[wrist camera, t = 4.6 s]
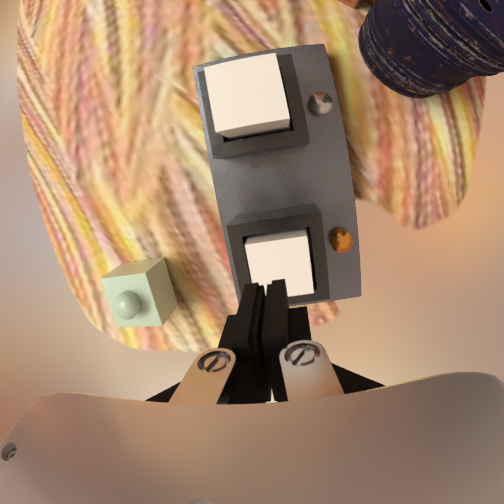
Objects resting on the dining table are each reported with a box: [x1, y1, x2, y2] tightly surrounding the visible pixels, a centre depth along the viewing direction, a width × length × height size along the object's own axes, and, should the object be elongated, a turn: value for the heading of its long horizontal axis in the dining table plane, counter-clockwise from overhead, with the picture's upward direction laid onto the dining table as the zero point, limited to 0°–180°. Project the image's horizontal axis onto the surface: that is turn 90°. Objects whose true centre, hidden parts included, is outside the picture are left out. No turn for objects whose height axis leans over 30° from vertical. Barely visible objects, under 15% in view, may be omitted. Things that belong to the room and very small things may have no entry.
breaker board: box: [193, 44, 361, 306], centre depth 21 cm, size 22×11×6 cm, turn 10°
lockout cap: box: [101, 257, 178, 327], centre depth 26 cm, size 5×5×6 cm
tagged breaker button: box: [245, 228, 314, 297], centre depth 21 cm, size 4×4×5 cm
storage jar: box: [358, 0, 504, 98], centre depth 11 cm, size 10×10×15 cm
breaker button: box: [204, 53, 290, 140], centre depth 16 cm, size 4×4×5 cm
